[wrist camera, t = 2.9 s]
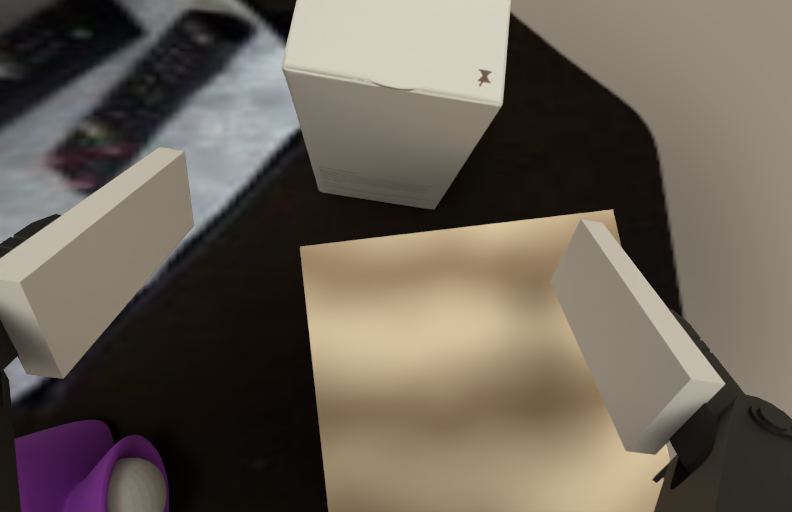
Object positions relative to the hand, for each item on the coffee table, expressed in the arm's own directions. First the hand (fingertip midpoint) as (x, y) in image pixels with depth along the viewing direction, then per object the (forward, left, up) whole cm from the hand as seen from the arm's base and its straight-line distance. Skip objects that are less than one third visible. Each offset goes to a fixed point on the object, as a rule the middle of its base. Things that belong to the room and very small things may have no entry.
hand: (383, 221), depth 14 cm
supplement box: (-10, +3, -16) cm, 19 cm away
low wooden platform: (+7, +5, -16) cm, 18 cm away
